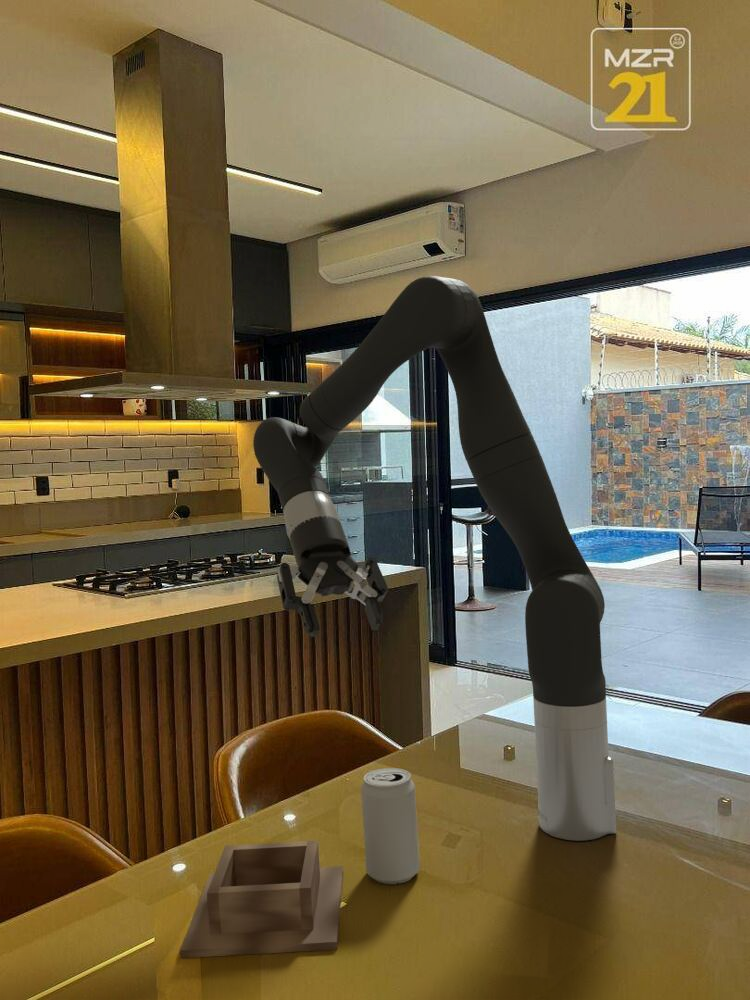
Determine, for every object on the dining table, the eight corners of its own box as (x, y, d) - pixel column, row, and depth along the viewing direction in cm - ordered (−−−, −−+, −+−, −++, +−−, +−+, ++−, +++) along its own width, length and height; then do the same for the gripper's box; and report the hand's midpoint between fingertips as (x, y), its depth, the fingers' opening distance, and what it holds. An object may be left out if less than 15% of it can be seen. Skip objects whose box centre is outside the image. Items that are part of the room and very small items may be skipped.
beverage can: (415, 888, 100) (409, 786, 99) (361, 886, 101) (355, 785, 100) (423, 862, 106) (418, 766, 105) (372, 860, 107) (366, 765, 106)
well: (343, 872, 104) (340, 829, 104) (337, 949, 88) (333, 899, 88) (210, 879, 104) (207, 837, 104) (180, 957, 88) (176, 907, 88)
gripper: (271, 516, 115) (301, 619, 106) (369, 511, 121) (405, 608, 112) (260, 550, 121) (287, 651, 111) (355, 544, 127) (388, 639, 117)
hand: (346, 630), depth 112 cm, fingers open, 8 cm apart
